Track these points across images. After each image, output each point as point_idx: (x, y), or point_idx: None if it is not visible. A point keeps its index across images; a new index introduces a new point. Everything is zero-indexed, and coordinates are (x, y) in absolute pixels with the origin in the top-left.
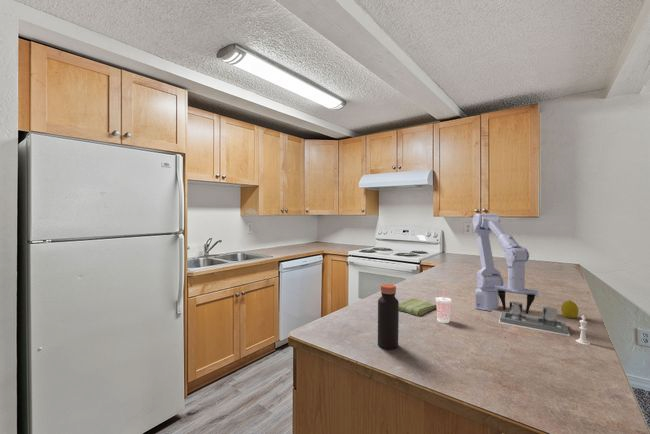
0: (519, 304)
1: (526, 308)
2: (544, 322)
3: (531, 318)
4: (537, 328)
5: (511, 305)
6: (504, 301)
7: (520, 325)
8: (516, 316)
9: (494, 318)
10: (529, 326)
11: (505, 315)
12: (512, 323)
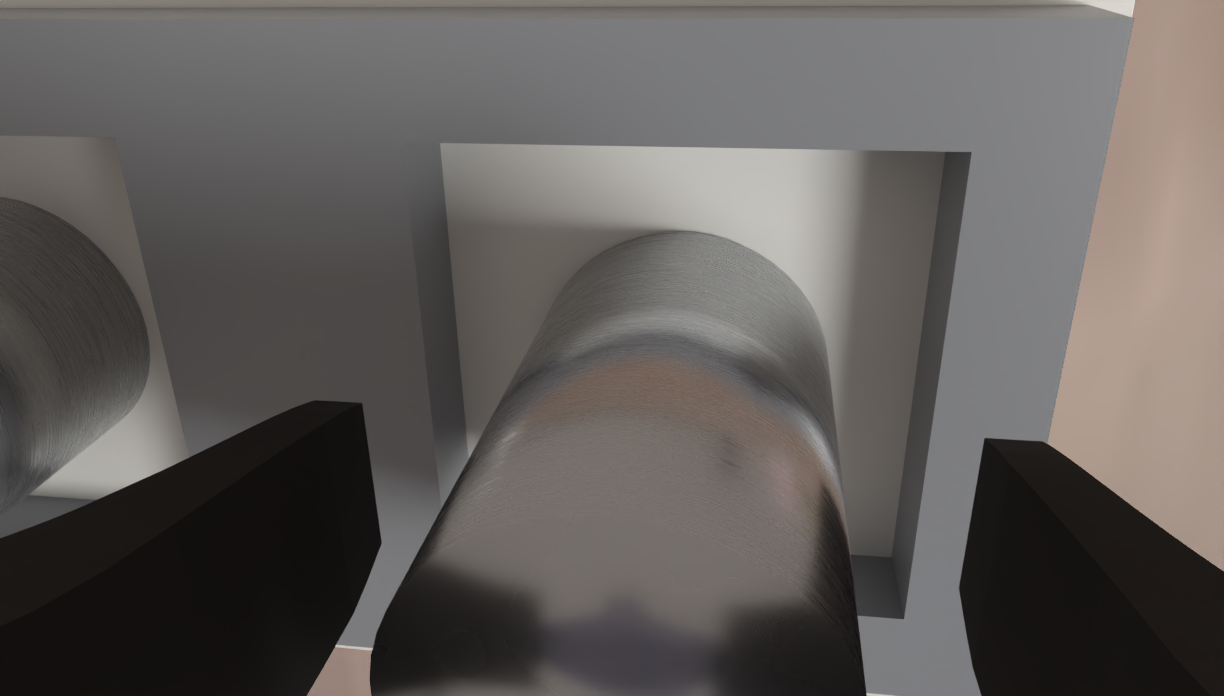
0: (466, 598)
1: (254, 465)
2: (20, 285)
3: None
4: (174, 7)
5: (790, 527)
6: (1152, 624)
7: (550, 5)
8: (638, 289)
9: (1155, 421)
10: (338, 9)
11: (920, 459)
12: (749, 9)
